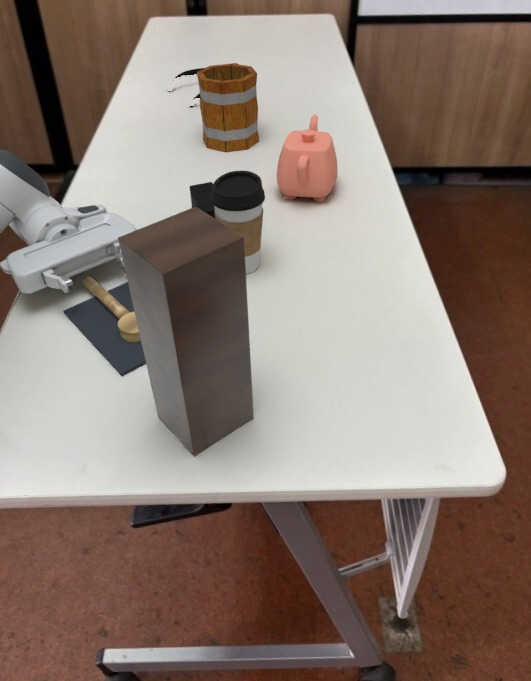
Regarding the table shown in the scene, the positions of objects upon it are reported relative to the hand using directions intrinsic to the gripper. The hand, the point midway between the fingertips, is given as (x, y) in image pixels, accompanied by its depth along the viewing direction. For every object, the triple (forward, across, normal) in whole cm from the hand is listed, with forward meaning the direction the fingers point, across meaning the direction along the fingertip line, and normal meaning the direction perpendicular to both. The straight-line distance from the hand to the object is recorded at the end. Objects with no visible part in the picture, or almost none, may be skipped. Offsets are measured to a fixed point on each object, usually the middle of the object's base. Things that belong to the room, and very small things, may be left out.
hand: (98, 274), depth 85 cm
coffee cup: (+6, +22, +6) cm, 24 cm away
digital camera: (-7, +25, +6) cm, 26 cm away
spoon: (+3, 0, +5) cm, 6 cm away
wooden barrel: (-39, +55, +6) cm, 68 cm away
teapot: (-7, +49, +6) cm, 50 cm away
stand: (+29, -2, +6) cm, 29 cm away
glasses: (-67, +67, +6) cm, 95 cm away
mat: (+7, 0, +6) cm, 9 cm away
